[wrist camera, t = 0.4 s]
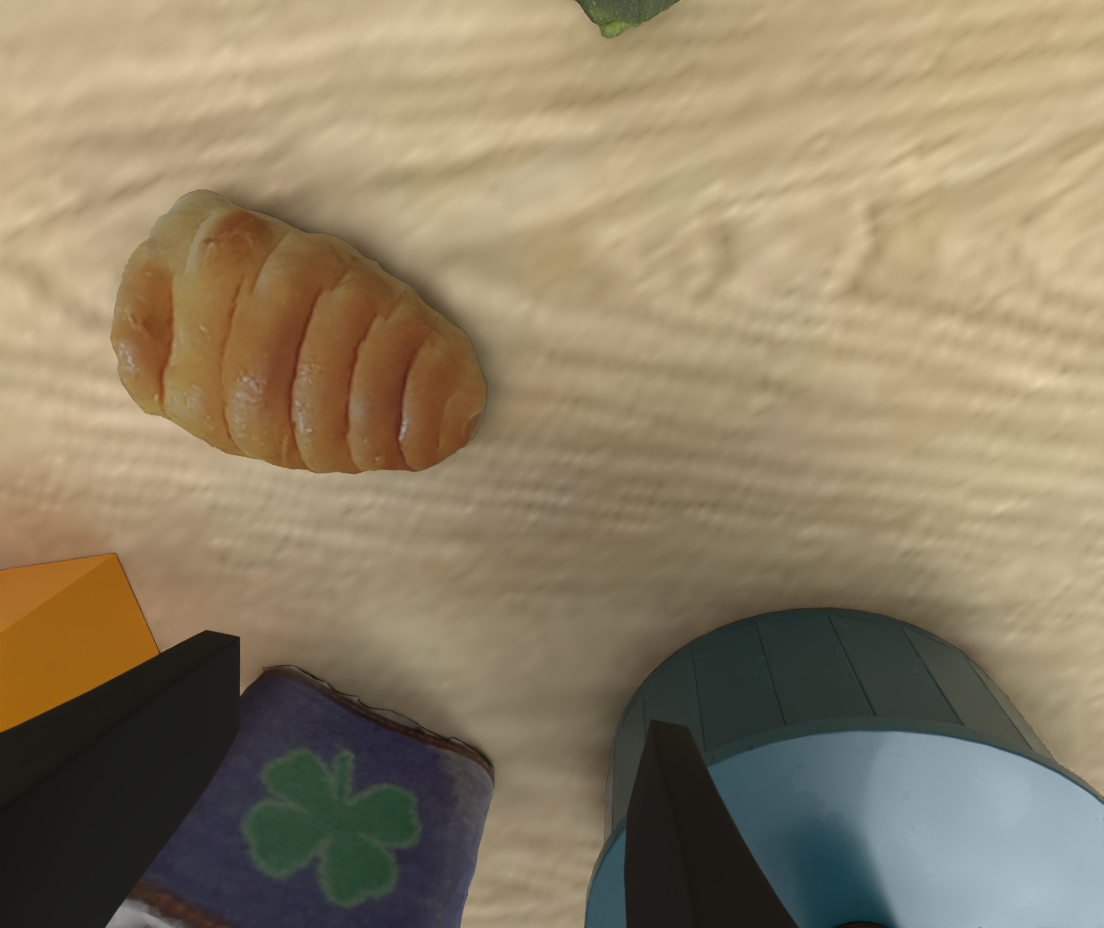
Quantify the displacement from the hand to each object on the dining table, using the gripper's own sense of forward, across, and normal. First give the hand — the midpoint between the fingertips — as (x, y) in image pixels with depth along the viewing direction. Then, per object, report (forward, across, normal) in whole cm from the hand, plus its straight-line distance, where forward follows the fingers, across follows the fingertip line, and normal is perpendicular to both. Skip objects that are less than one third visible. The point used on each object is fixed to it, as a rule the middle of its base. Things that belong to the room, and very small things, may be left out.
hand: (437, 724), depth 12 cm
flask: (+10, +4, +10) cm, 15 cm away
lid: (+5, -11, +8) cm, 15 cm away
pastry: (+10, +7, -4) cm, 13 cm away
